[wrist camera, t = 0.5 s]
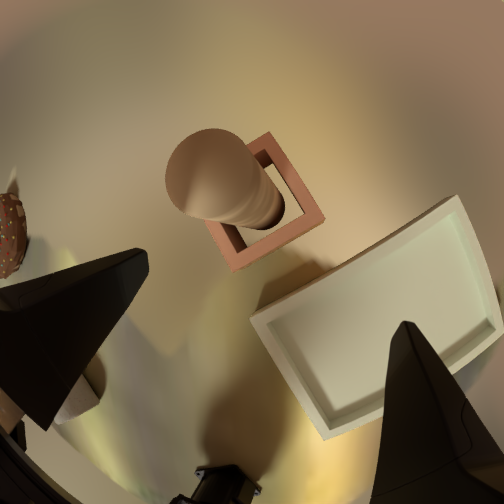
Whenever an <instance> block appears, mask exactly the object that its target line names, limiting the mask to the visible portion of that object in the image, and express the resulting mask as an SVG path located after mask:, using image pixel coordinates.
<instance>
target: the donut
mask: <svg viewBox="0 0 504 504" xmlns="http://www.w3.org/2000/svg"><path fill="white" fill-rule="evenodd" d="M26 239H27V226H26V216H25V212H24V209H23V206H22V202H21V201H20V200H19V199H18V198H17V197H16V196H15V195H14V194H13V193H5V194H0V279H1V278H4V279H6V278H7V277H8V276H9V275H11V274H12V273H14V272H15V271H17V270H19V267H20V264H21V262H22V259H23V256H24V252H25V247H26Z"/></svg>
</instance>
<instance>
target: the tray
mask: <svg viewBox="0 0 504 504" xmlns="http://www.w3.org/2000/svg"><path fill="white" fill-rule="evenodd" d="M249 320H250V322H251V324H252V325H253V327H254V329H255V330H256V332H257V334H258V336H259V337H260V339H261V341H262V342H263V344H264V346H265V347H266V349H267V351H268V352H269V354H270V356H271V357H272V359H273V361H274V362H275V364H276V366H277V367H278V369H279V371H280V372H281V374H282V376H283V377H284V379H285V380H286V382H287V384H288V385H289V387H290V389H291V390H292V392H293V393H294V395H295V397H296V398H297V400H298V401H299V403H300V405H301V406H302V408H303V409H304V411H305V412H306V414H307V416H308V417H309V419H310V420H311V422H312V423H313V425H314V426H315V428H316V430H317V431H318V433H319V434H320V436H321V437H322V439H323V440H324V441H325V440H328V439H330V438H333V437H336V436H338V435H341V434H343V433H346V432H348V431H350V430H353V429H355V428H357V427H360V426H362V425H364V424H366V423H369V422H371V421H373V420H375V419H377V418H379V417H381V416H383V410H384V395H385V381H386V374H387V366H388V358H389V350H390V342H391V339H392V337H393V335H394V333H395V332H396V330H397V328H398V327H399V325H400V323H401V322H402V321H404V320H406V321H411V322H414V323H415V324H416V325H417V327H418V328H419V329H420V331H421V332H422V333H423V335H424V336H425V337H426V339H427V340H428V341H429V343H430V344H431V346H432V347H433V348H434V350H435V351H436V353H437V354H438V355H439V357H440V358H441V360H442V361H443V363H444V364H445V365H446V367H447V368H448V370H449V371H450V373H451V374H454V373H455V372H457V371H458V370H459V369H461V368H462V367H463V366H465V365H466V364H467V363H469V362H470V361H471V360H473V359H474V358H475V357H476V356H478V355H479V354H480V353H481V352H483V351H484V350H485V349H486V348H487V347H489V346H490V345H491V344H492V343H493V342H494V341H496V340H497V339H498V338H499V337H500V336H501V335H502V334H503V333H504V326H503V321H502V316H501V312H500V308H499V304H498V300H497V296H496V292H495V289H494V285H493V282H492V279H491V275H490V272H489V269H488V266H487V263H486V260H485V257H484V254H483V252H482V249H481V246H480V244H479V241H478V239H477V236H476V234H475V231H474V229H473V226H472V224H471V222H470V220H469V218H468V215H467V213H466V211H465V209H464V207H463V205H462V202H461V200H460V199H459V196H458V194H456V195H453V196H450V197H447V198H445V199H443V200H442V201H440V202H439V203H437V204H436V205H434V206H433V207H431V208H430V209H429V210H427V211H425V212H424V213H422V214H421V215H419V216H418V217H416V218H415V219H413V220H412V221H410V222H409V223H407V224H406V225H404V226H402V227H401V228H399V229H398V230H396V231H395V232H393V233H391V234H390V235H388V236H387V237H385V238H383V239H382V240H380V241H379V242H377V243H375V244H374V245H372V246H370V247H369V248H367V249H365V250H364V251H362V252H360V253H359V254H357V255H356V256H354V257H352V258H350V259H349V260H347V261H345V262H344V263H342V264H340V265H338V266H337V267H335V268H333V269H332V270H330V271H328V272H326V273H325V274H323V275H321V276H319V277H318V278H316V279H314V280H312V281H310V282H309V283H307V284H305V285H303V286H301V287H300V288H298V289H296V290H294V291H292V292H290V293H289V294H287V295H285V296H283V297H281V298H279V299H277V300H276V301H274V302H272V303H270V304H268V305H266V306H264V307H262V308H260V309H259V310H257V311H255V312H254V313H253V314H252V316H251V317H250V318H249Z"/></svg>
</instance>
